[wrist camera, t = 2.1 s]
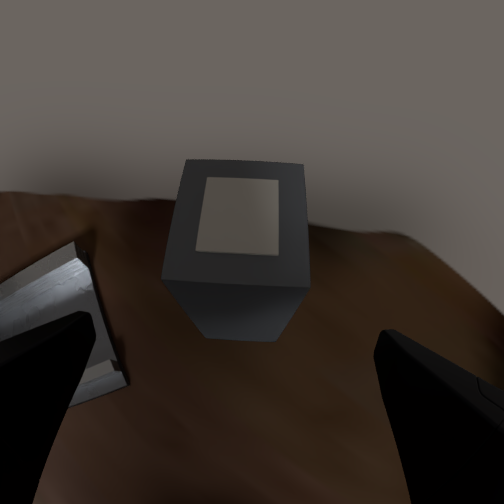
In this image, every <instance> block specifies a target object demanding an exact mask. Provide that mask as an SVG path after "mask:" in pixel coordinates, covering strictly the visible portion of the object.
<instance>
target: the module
mask: <svg viewBox="0 0 504 504" xmlns="http://www.w3.org/2000/svg"><path fill="white" fill-rule="evenodd" d="M161 280H162V282H163V283H164V284H165V286H166V287H167V288H168V290H169V291H170V292H171V294H172V295H173V297H174V298H175V299H176V301H177V302H178V303H179V305H180V306H181V307H182V308H183V310H184V311H185V312H186V314H187V315H188V316H189V318H190V319H191V320H192V321H193V323H194V324H195V325H196V327H197V328H198V329H199V330H200V332H201V333H202V334H203V335H204V337H205V338H212V339H225V340H242V341H263V342H276V340H277V339H278V337H279V336H280V334H281V333H282V331H283V330H284V328H285V327H286V325H287V324H288V322H289V321H290V319H291V318H292V316H293V314H294V313H295V311H296V310H297V308H298V307H299V305H300V303H301V302H302V300H303V299H304V297H305V295H306V294H307V292H308V291H309V289H310V259H309V237H308V220H307V204H306V189H305V178H304V165H303V164H293V163H278V162H263V161H242V160H186V163H185V166H184V170H183V175H182V178H181V182H180V187H179V191H178V195H177V199H176V204H175V208H174V213H173V218H172V222H171V227H170V232H169V237H168V242H167V247H166V253H165V258H164V264H163V269H162V275H161Z"/></svg>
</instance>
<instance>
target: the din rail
mask: <svg viewBox="0 0 504 504" xmlns="http://www.w3.org/2000/svg"><path fill="white" fill-rule="evenodd" d="M76 311H85V312H89V313H90V314H91V316H92V319H93V323H94V327H95V331H96V341H95V344H94V347H93V349H92V352H91V355H90V357H89V360H88V363H87V365H86V368H85V371H84V374H83V376H82V378H81V381H80V383H79V385H78V387H77V389H76V391H75V394H74V396H73V398H72V400H71V402H70V405H69V407H68V408H71V407H73V406H76V405H79V404H82V403H85V402H87V401H90V400H93V399H96V398H98V397H101V396H104V395H106V394H109V393H112V392H114V391H117V390H119V389H122V388H124V387H127V386H129V385H130V384H129V381H128V379H127V376H126V374H125V372H124V369H123V367H122V364H121V361H120V359H119V356H118V353H117V351H116V348H115V345H114V342H113V340H112V337H111V334H110V331H109V328H108V325H107V322H106V319H105V316H104V312H103V309H102V306H101V302H100V299H99V295H98V292H97V288H96V285H95V281H94V277H93V273H92V269H91V265H90V261H89V256H88V253H87V252H86V251H83V250H82V249H81V248H80V247H79V246H78V245H77V244H76V243H75V242H74V241H73V242H71V243H69V244H68V245H66V246H64V247H62V248H60V249H58V250H57V251H55V252H53V253H51V254H50V255H48V256H46V257H44V258H43V259H41V260H39V261H37V262H36V263H34V264H32V265H31V266H29V267H27V268H26V269H24V270H22V271H21V272H19V273H17V274H16V275H14V276H13V277H11V278H9V279H8V280H6V281H5V282H3V283H2V284H0V341H3V340H5V339H8V338H10V337H13V336H15V335H18V334H20V333H23V332H25V331H28V330H30V329H33V328H35V327H38V326H41V325H43V324H46V323H48V322H51V321H53V320H56V319H58V318H61V317H64V316H66V315H69V314H71V313H74V312H76Z"/></svg>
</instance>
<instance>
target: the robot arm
mask: <svg viewBox="0 0 504 504" xmlns="http://www.w3.org/2000/svg"><path fill="white" fill-rule="evenodd" d="M95 341H96V331H95V327H94V323H93V319H92V316H91V314H90V313H89V312H85V311H76V312H74V313H71V314H69V315H66V316H64V317H61V318H58V319H56V320H53V321H51V322H48V323H46V324H43V325H41V326H38V327H35V328H33V329H30V330H28V331H25V332H23V333H20V334H18V335H15V336H13V337H10V338H8V339H5V340H3V341H0V504H32V503H33V500H34V496H35V493H36V490H37V487H38V484H39V479H40V477H41V475H42V472H43V469H44V466H45V463H46V461H47V458H48V455H49V453H50V450H51V447H52V445H53V442H54V440H55V437H56V435H57V432H58V430H59V428H60V425H61V423H62V420H63V418H64V416H65V414H66V411H67V409H68V407H69V405H70V402H71V400H72V398H73V396H74V394H75V391H76V389H77V387H78V385H79V383H80V381H81V378H82V376H83V374H84V371H85V368H86V365H87V363H88V360H89V357H90V355H91V352H92V349H93V347H94V344H95ZM374 362H375V366H376V371H377V375H378V380H379V385H380V390H381V394H382V399H383V402H384V405H385V408H386V412H387V415H388V418H389V421H390V425H391V428H392V431H393V435H394V438H395V441H396V445H397V448H398V452H399V456H400V459H401V463H402V467H403V471H404V475H405V479H406V483H407V487H408V491H409V495H410V500H411V504H504V391H503V390H501V389H499V388H497V387H495V386H493V385H491V384H490V383H488V382H486V381H484V380H482V379H481V378H479V377H476V376H475V375H474V374H472V373H470V372H468V371H466V370H465V369H463V368H461V367H459V366H458V365H456V364H454V363H452V362H451V361H449V360H447V359H445V358H444V357H442V356H440V355H438V354H437V353H435V352H433V351H431V350H429V349H428V348H426V347H424V346H422V345H421V344H419V343H417V342H415V341H414V340H412V339H410V338H408V337H406V336H405V335H403V334H401V333H399V332H398V331H396V330H393V329H390V330H382V331H381V332H380V334H379V338H378V341H377V344H376V347H375V350H374Z"/></svg>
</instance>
